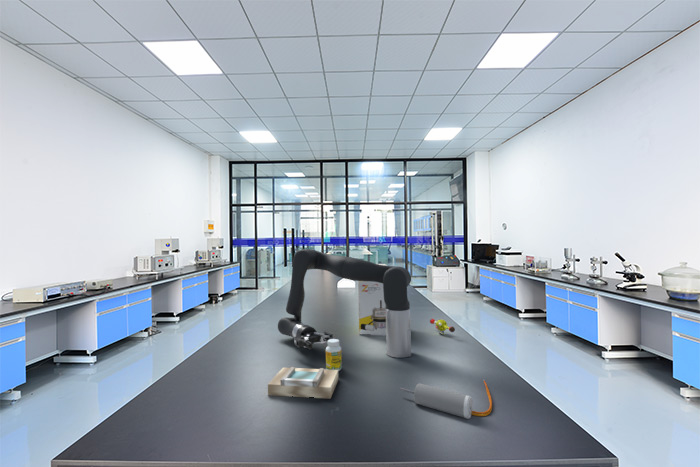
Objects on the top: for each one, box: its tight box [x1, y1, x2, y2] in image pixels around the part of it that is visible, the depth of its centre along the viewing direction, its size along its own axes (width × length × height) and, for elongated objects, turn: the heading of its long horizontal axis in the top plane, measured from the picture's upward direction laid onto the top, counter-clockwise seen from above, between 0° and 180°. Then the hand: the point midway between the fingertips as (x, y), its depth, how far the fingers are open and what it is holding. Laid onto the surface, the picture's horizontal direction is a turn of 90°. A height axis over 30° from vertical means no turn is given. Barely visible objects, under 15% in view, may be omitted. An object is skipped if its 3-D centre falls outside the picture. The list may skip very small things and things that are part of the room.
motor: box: [399, 379, 493, 420], centre depth 86 cm, size 23×22×5 cm
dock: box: [267, 366, 339, 400], centre depth 91 cm, size 18×12×4 cm
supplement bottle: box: [325, 338, 343, 372], centre depth 104 cm, size 5×5×10 cm
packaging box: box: [357, 281, 386, 336], centre depth 151 cm, size 16×16×25 cm
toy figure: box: [429, 318, 456, 336], centre depth 143 cm, size 18×6×7 cm, turn 17°
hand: (322, 344), depth 111 cm, fingers open, 8 cm apart
